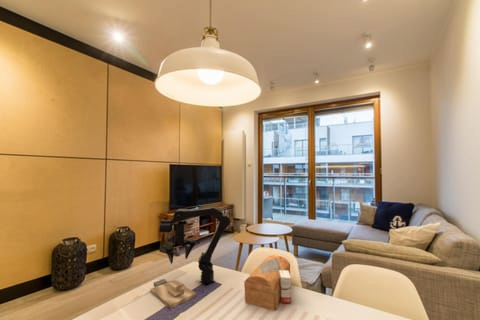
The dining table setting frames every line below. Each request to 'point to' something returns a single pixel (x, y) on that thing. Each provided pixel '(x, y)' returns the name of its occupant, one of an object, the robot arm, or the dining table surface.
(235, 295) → the dining table surface
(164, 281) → the graphite stick
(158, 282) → the graphite stick
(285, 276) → the ink box
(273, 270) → the wooden box
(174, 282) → the tan rectangular block
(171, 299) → the oak board
